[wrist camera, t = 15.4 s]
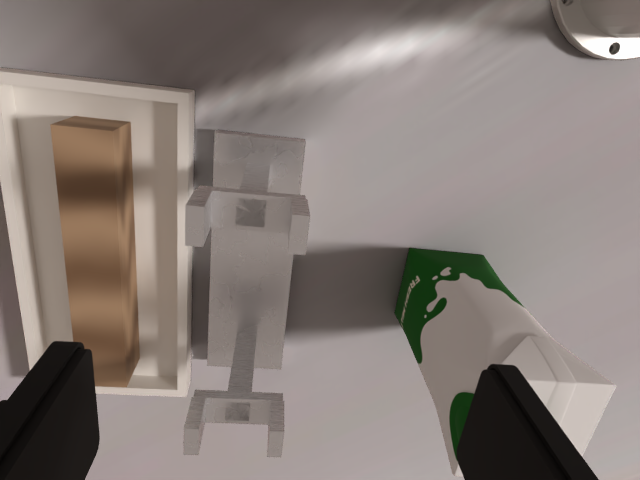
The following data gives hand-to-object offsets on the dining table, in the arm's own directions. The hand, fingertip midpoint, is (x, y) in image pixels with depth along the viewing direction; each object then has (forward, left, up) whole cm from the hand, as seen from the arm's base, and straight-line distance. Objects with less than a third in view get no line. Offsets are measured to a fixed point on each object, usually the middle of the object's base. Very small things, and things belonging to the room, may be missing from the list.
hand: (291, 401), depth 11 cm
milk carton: (+11, +16, -28) cm, 34 cm away
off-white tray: (+10, -14, -28) cm, 33 cm away
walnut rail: (+10, -14, -28) cm, 33 cm away
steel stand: (+10, -2, -28) cm, 30 cm away
